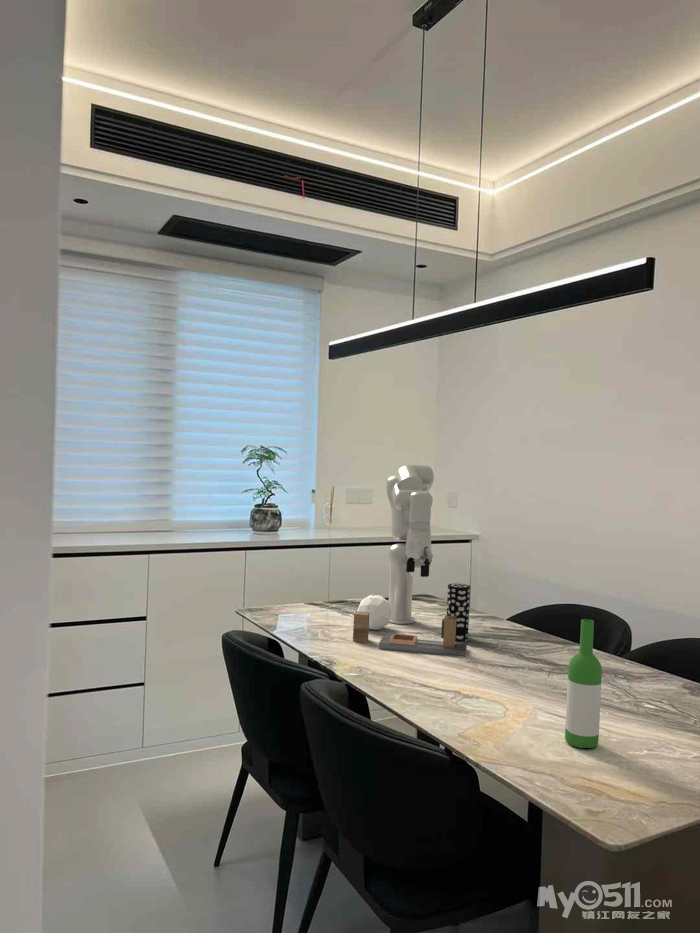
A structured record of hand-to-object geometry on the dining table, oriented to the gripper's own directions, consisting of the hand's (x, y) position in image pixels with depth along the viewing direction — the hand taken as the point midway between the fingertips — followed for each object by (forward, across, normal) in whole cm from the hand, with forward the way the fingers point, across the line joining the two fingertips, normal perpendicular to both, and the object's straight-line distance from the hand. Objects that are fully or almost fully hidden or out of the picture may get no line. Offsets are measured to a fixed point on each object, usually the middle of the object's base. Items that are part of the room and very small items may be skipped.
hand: (417, 574), depth 256 cm
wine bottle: (+26, +90, -8) cm, 94 cm away
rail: (+25, +6, 0) cm, 26 cm away
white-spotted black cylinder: (+26, -3, +20) cm, 33 cm away
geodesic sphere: (+26, -25, -3) cm, 36 cm away
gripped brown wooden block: (+26, -11, -16) cm, 32 cm away
